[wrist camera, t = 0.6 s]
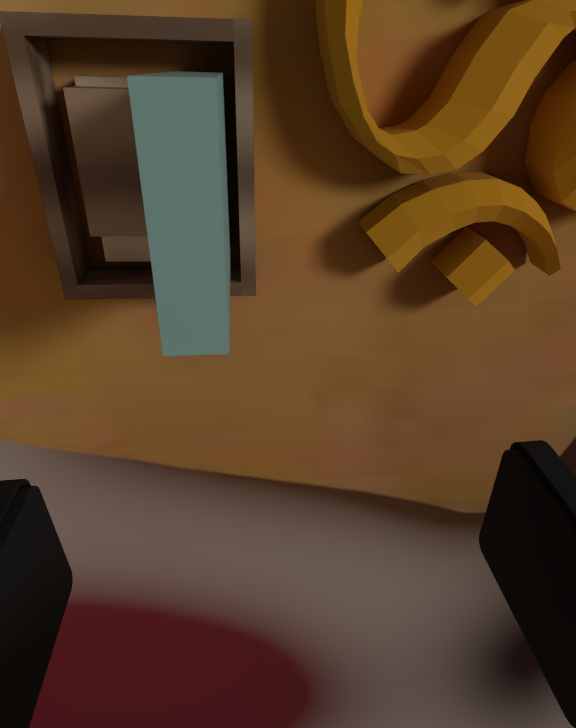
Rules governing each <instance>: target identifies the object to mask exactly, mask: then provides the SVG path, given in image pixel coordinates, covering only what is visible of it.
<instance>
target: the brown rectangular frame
mask: <svg viewBox="0 0 576 728" xmlns="http://www.w3.org/2000/svg"><path fill="white" fill-rule="evenodd" d="M0 22H1V26H2V31H3V35H4V39H5V44H6V48H7V52H8V56H9V61H10V65H11V69H12V74H13V78H14V82H15V86H16V91H17V95H18V99H19V103H20V108H21V112H22V116H23V121H24V125H25V129H26V133H27V138H28V142H29V146H30V150H31V155H32V159H33V163H34V168H35V172H36V176H37V180H38V185H39V189H40V193H41V198H42V202H43V206H44V210H45V215H46V219H47V223H48V227H49V232H50V236H51V240H52V245H53V249H54V253H55V257H56V262H57V266H58V270H59V274H60V279H61V283H62V287H63V292H64V296H65V299H99V298H152V297H155V289H154V282H153V274H152V266H125V267H90V263H89V258H88V253H87V248H86V243H85V238H84V233H83V227H82V222H81V217H80V212H79V207H78V202H77V197H76V192H75V187H74V182H73V177H72V172H71V167H70V162H69V157H68V152H67V147H66V141H65V136H64V131H63V126H62V121H61V116H60V111H59V106H58V101H57V96H56V91H55V86H54V81H53V76H52V71H51V66H50V61H49V55H48V50H47V45H46V40H45V38H49V39H84V40H118V41H153V42H188V43H222V44H234V68H235V100H236V133H237V166H238V199H239V231H240V264H241V265H230V296H256V275H255V204H254V134H253V63H252V20H245V19H215V18H185V17H155V16H125V15H96V14H66V13H36V12H6V11H0Z"/></svg>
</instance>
